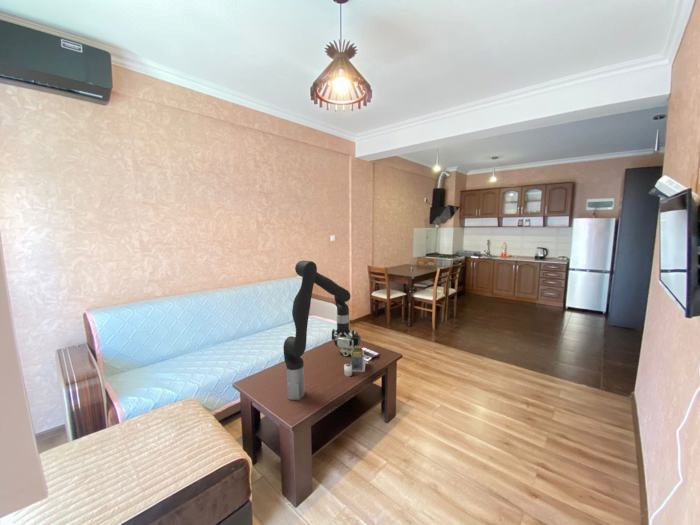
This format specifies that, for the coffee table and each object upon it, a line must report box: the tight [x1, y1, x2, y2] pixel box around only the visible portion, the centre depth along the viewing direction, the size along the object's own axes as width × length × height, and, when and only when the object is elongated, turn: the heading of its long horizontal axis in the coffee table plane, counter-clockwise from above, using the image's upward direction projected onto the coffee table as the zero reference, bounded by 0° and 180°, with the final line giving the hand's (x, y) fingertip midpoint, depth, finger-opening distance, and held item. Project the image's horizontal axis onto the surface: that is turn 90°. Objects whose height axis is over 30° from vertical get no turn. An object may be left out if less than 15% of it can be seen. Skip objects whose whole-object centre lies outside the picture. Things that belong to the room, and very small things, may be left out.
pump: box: [343, 362, 353, 377], centre depth 184 cm, size 5×5×7 cm
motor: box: [349, 346, 367, 373], centre depth 193 cm, size 12×10×12 cm
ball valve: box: [333, 331, 362, 357], centre depth 210 cm, size 18×8×18 cm, turn 73°
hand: (343, 345), depth 185 cm, fingers open, 8 cm apart
